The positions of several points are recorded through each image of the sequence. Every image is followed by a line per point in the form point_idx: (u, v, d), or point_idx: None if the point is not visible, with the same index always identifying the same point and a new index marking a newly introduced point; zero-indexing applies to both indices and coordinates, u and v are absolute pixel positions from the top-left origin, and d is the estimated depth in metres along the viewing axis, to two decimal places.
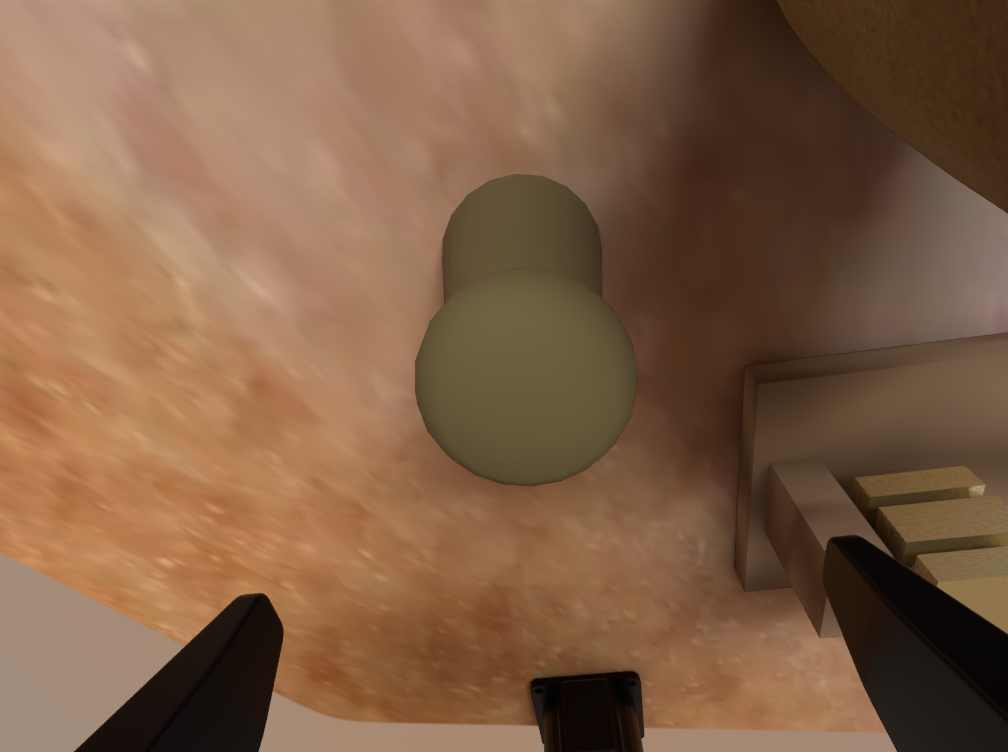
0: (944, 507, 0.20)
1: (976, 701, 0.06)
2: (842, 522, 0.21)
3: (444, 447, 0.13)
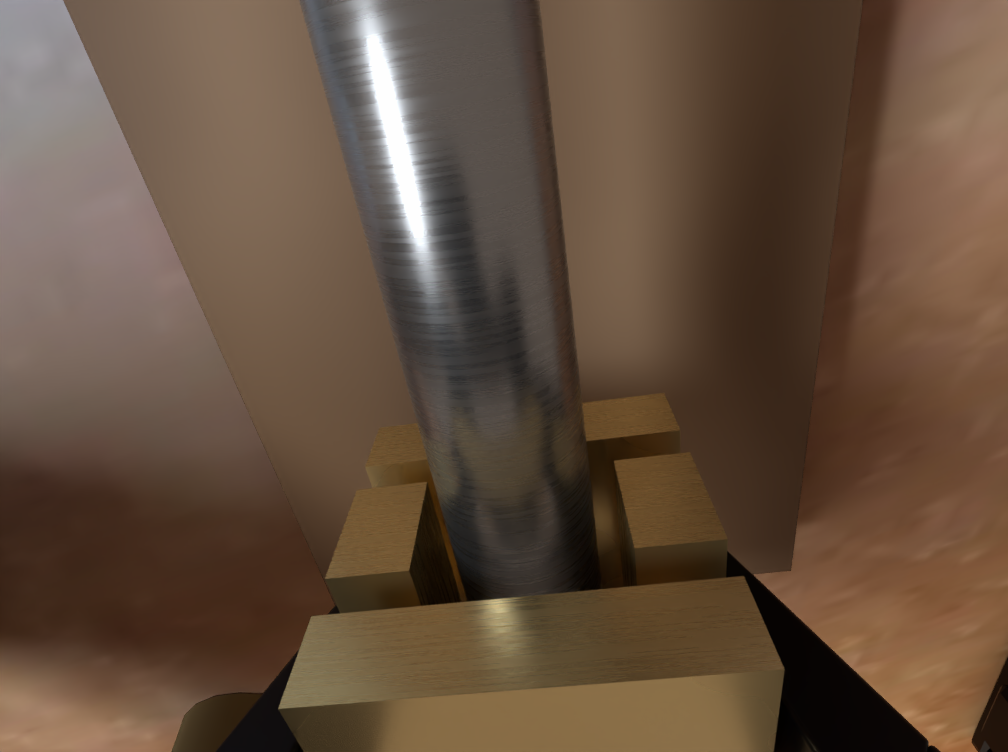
0: None
1: (784, 714, 0.06)
2: None
3: None
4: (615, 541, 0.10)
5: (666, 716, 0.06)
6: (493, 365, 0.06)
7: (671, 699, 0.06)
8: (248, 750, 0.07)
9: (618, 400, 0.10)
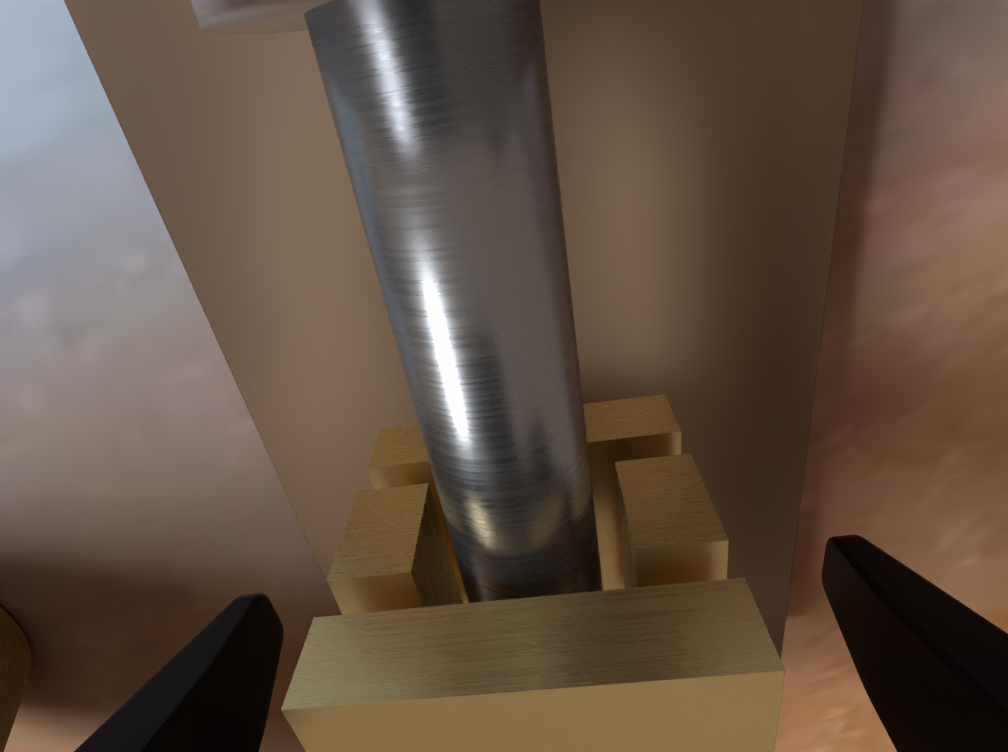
0: None
1: (976, 701, 0.06)
2: None
3: None
4: (616, 542, 0.10)
5: (666, 717, 0.06)
6: None
7: (671, 700, 0.06)
8: None
9: (619, 402, 0.10)
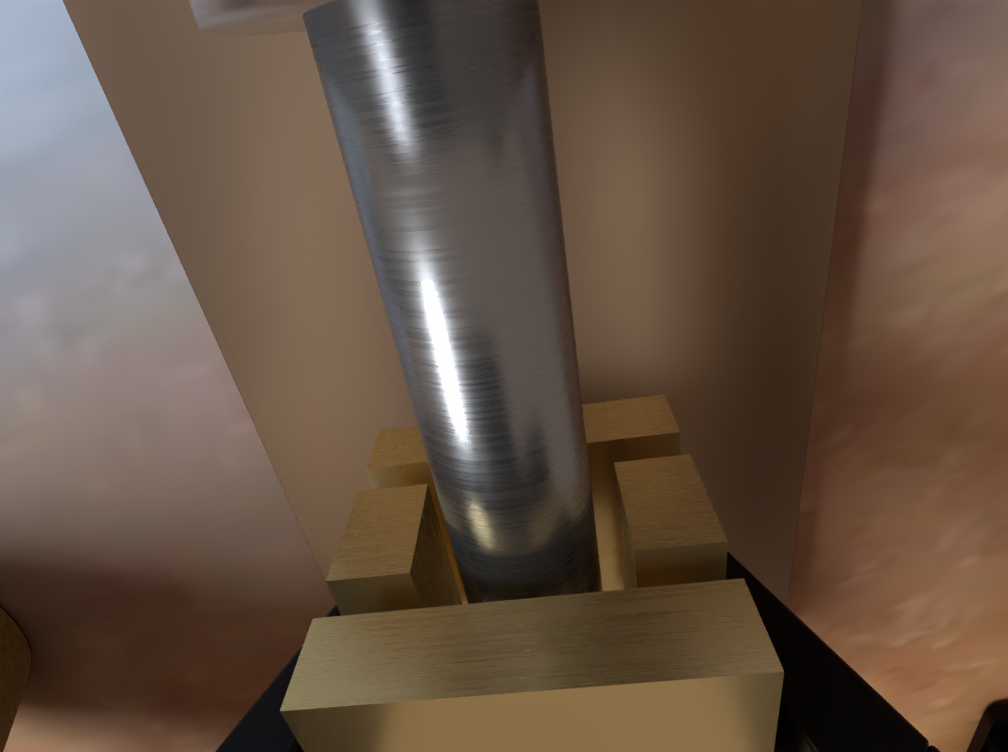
0: None
1: (784, 715, 0.06)
2: None
3: None
4: (615, 542, 0.10)
5: (665, 719, 0.06)
6: None
7: (670, 701, 0.06)
8: (248, 750, 0.07)
9: (618, 402, 0.10)
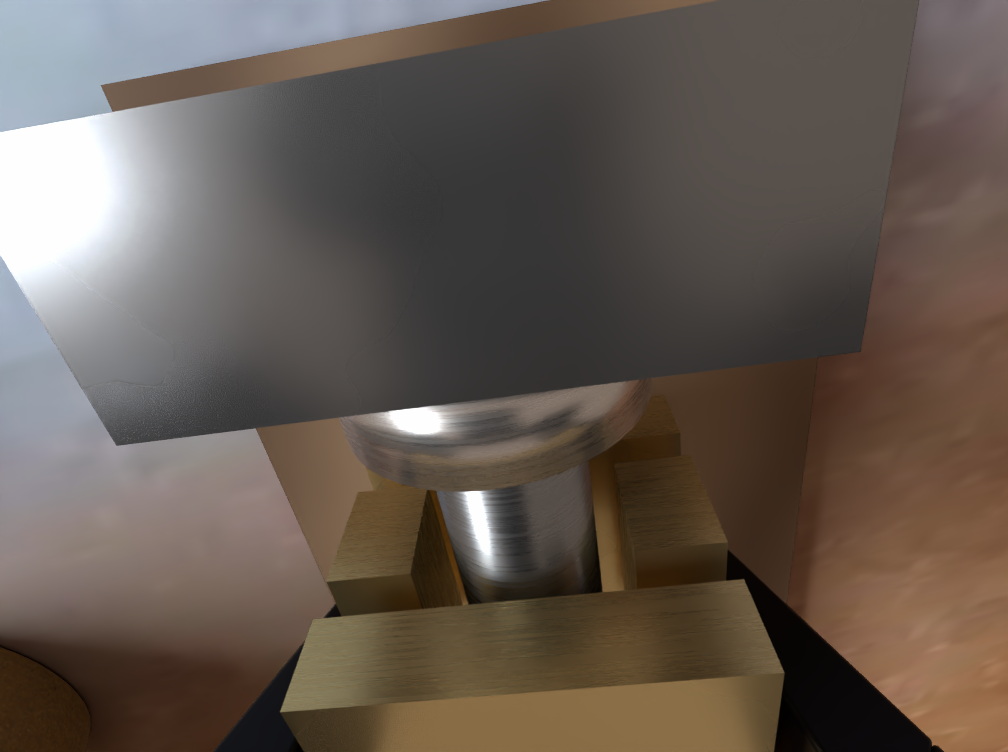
0: None
1: (787, 715, 0.06)
2: None
3: None
4: (615, 543, 0.10)
5: (666, 719, 0.06)
6: None
7: (670, 703, 0.06)
8: (246, 751, 0.07)
9: None
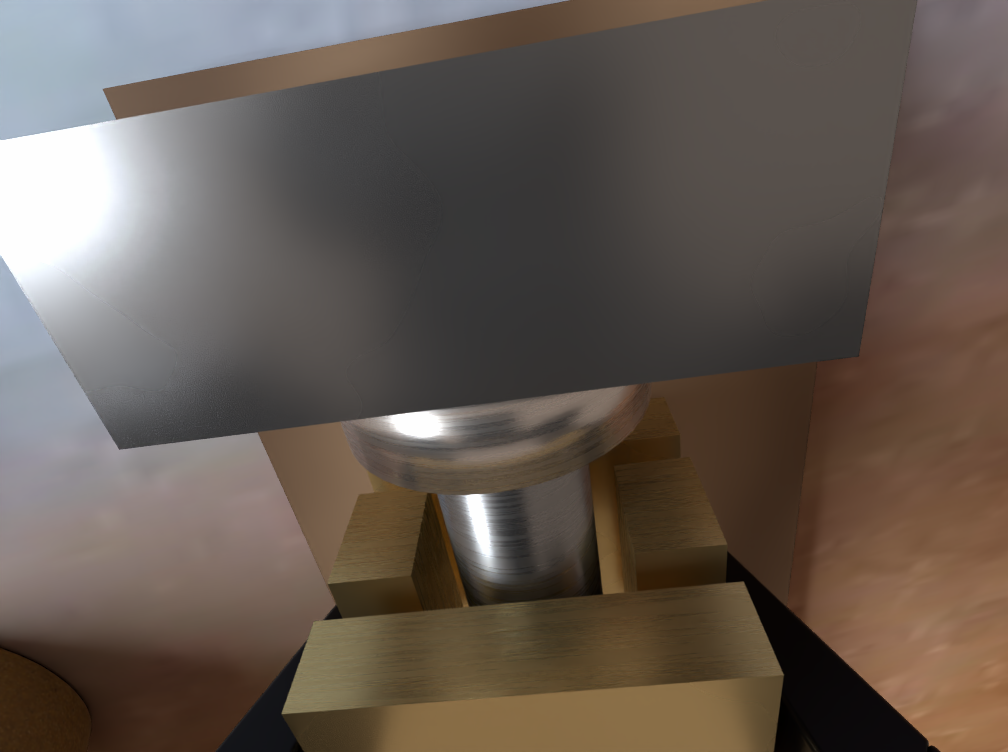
0: None
1: (784, 715, 0.06)
2: None
3: None
4: (616, 544, 0.10)
5: (665, 721, 0.06)
6: None
7: (671, 704, 0.06)
8: (248, 750, 0.07)
9: None
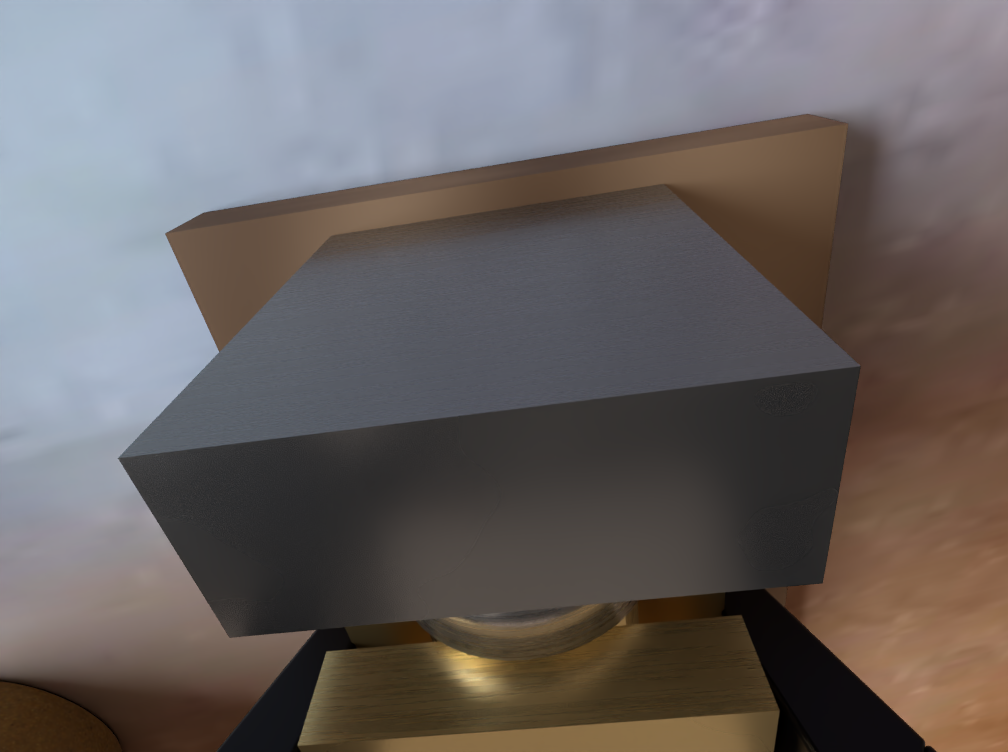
0: None
1: (781, 715, 0.06)
2: None
3: None
4: None
5: None
6: None
7: (672, 737, 0.06)
8: (249, 750, 0.07)
9: None
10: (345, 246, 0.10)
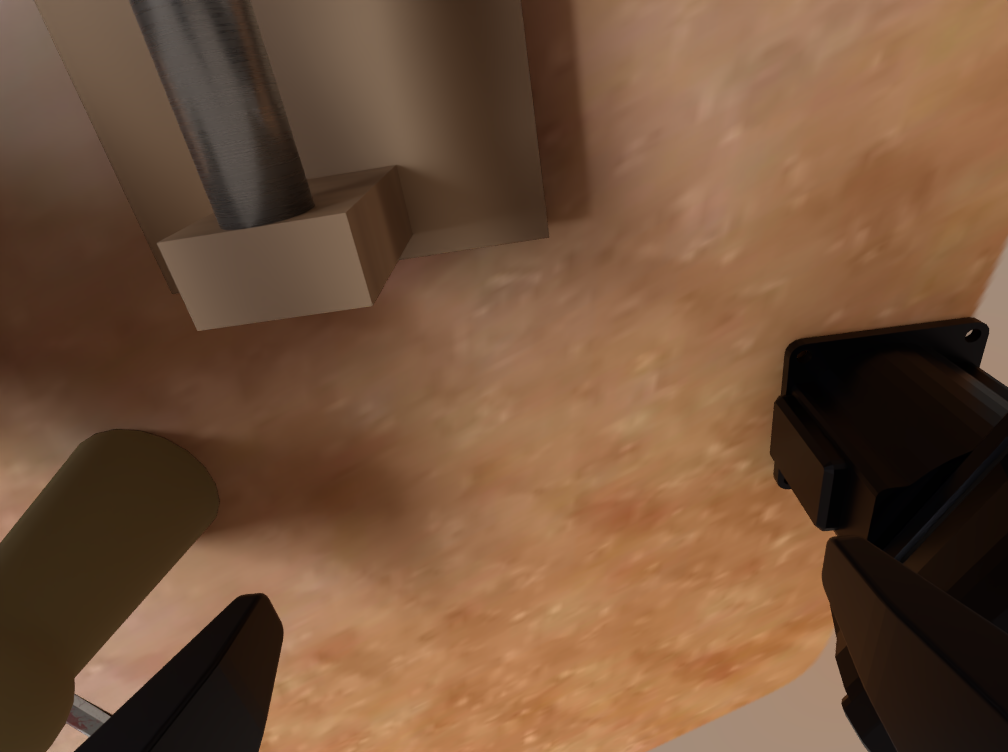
0: None
1: (976, 701, 0.06)
2: None
3: None
4: None
5: None
6: None
7: None
8: None
9: None
10: None
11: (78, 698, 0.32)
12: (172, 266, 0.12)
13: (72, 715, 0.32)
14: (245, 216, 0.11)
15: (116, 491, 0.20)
